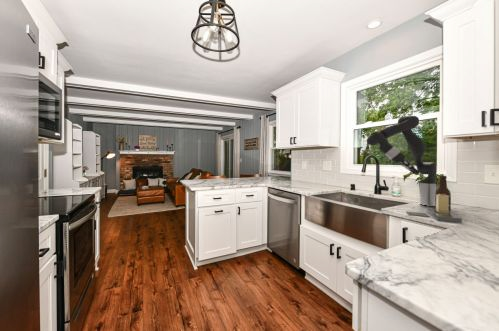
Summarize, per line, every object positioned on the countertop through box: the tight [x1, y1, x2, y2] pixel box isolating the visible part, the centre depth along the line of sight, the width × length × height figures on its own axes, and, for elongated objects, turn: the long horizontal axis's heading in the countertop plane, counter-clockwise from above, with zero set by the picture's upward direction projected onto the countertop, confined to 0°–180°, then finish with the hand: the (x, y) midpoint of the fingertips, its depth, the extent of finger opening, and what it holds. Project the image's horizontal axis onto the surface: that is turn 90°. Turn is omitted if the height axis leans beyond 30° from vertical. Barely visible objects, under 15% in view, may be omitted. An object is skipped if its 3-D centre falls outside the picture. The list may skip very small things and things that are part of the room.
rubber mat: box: [406, 211, 430, 218], centre depth 135 cm, size 10×10×1 cm
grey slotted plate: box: [425, 207, 463, 224], centre depth 129 cm, size 26×10×2 cm, turn 151°
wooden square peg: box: [436, 194, 449, 214], centre depth 129 cm, size 5×5×14 cm
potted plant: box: [434, 175, 452, 212], centre depth 144 cm, size 8×8×24 cm
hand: (416, 173), depth 135 cm, fingers open, 8 cm apart
